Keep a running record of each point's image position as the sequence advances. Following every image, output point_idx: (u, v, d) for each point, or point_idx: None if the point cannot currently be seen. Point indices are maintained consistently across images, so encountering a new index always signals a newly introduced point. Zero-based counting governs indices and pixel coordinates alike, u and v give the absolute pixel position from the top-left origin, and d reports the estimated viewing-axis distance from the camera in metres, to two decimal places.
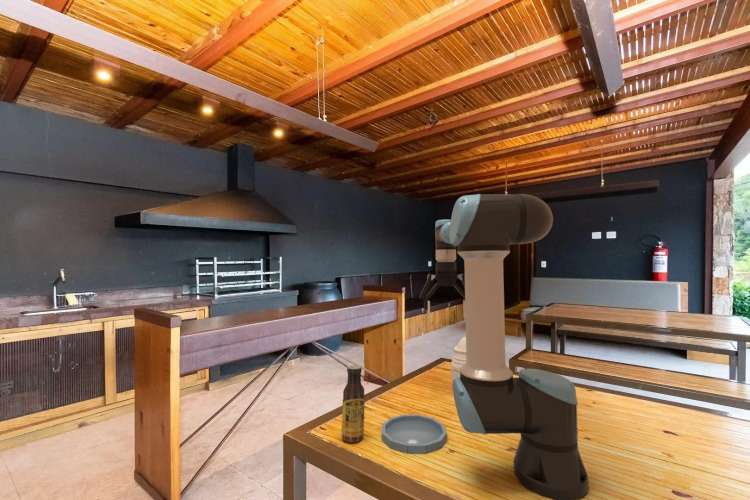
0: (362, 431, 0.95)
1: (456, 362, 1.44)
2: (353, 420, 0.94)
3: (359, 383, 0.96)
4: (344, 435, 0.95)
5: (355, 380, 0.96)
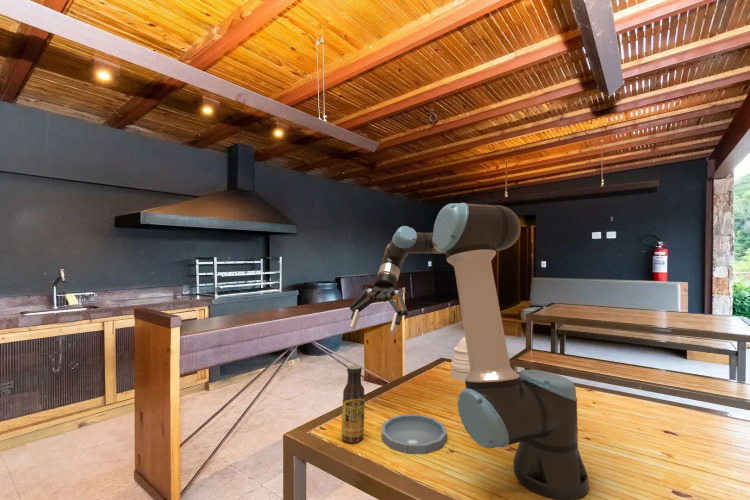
0: (362, 431, 0.95)
1: (456, 362, 1.44)
2: (353, 420, 0.94)
3: (359, 383, 0.96)
4: (344, 435, 0.95)
5: (355, 380, 0.96)
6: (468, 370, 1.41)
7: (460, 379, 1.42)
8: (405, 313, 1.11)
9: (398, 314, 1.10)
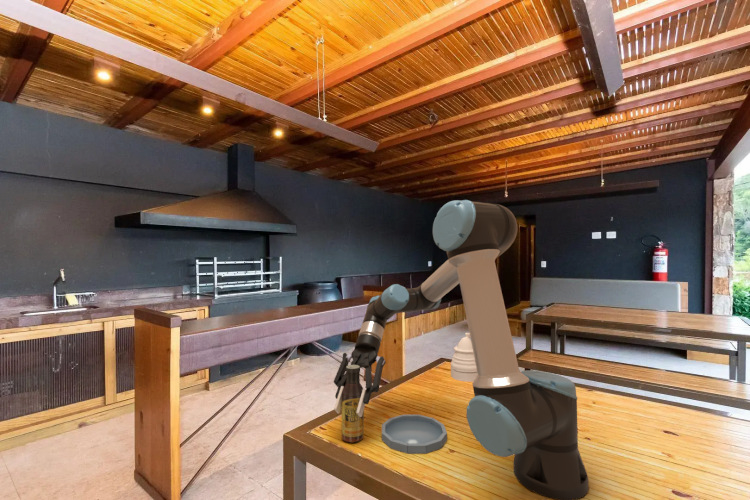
0: (362, 431, 0.95)
1: (456, 362, 1.44)
2: (352, 420, 0.94)
3: (358, 383, 0.96)
4: (344, 435, 0.95)
5: (354, 380, 0.96)
6: (468, 370, 1.41)
7: (460, 379, 1.42)
8: (375, 389, 0.97)
9: (366, 390, 0.97)
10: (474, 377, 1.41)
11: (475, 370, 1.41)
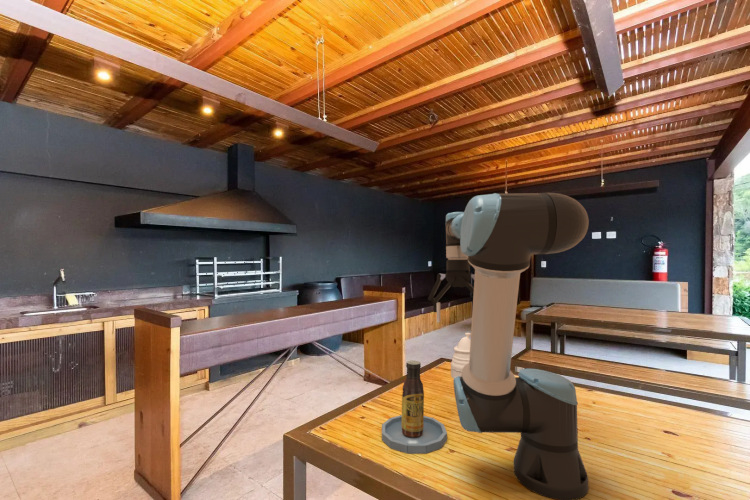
0: (422, 426, 0.96)
1: (456, 362, 1.44)
2: (414, 415, 0.95)
3: (419, 378, 0.97)
4: (405, 430, 0.96)
5: (415, 375, 0.97)
6: None
7: None
8: None
9: None
10: None
11: None
